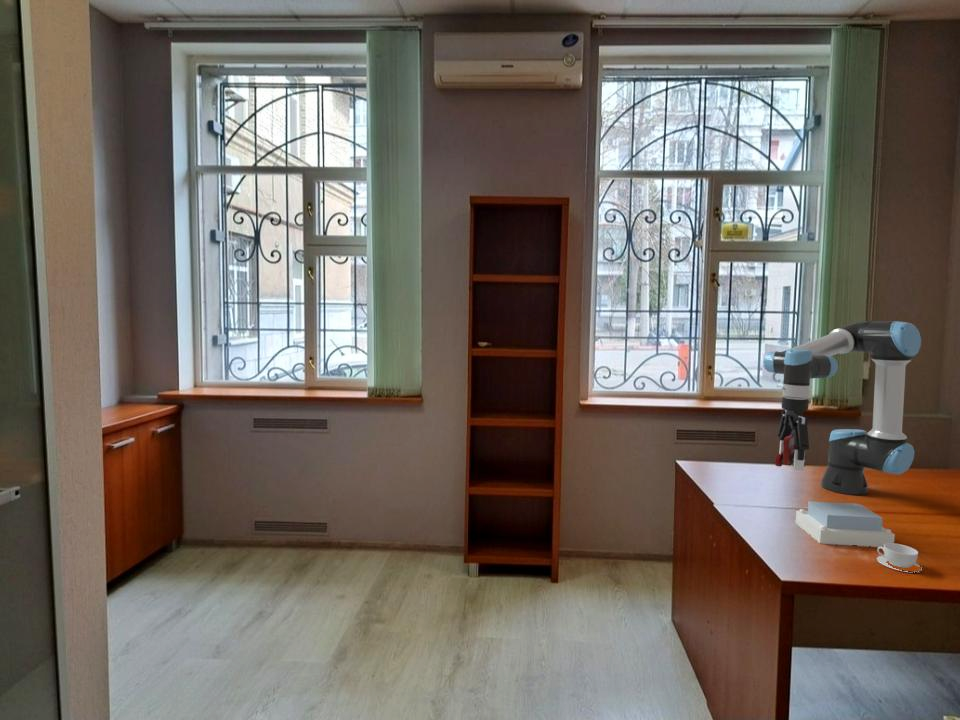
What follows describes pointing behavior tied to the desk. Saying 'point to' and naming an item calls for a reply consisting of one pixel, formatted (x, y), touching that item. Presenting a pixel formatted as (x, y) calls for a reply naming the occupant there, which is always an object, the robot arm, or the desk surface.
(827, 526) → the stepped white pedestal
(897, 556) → the teacup
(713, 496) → the desk surface
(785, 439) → the red toy vehicle
